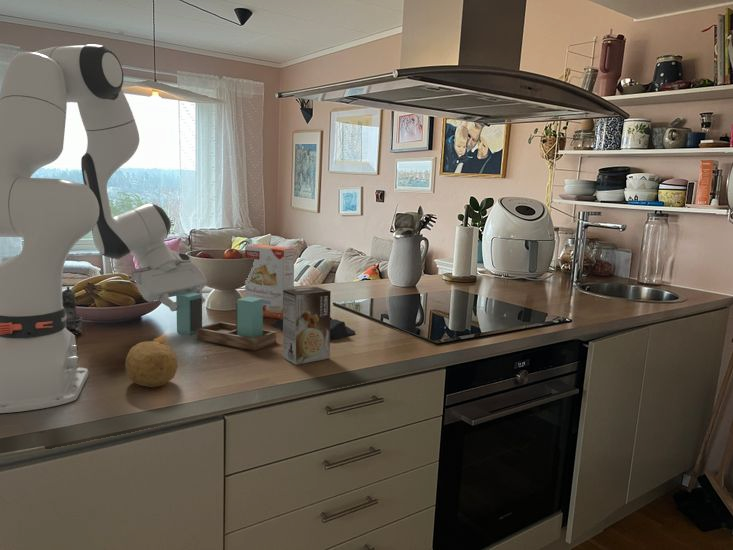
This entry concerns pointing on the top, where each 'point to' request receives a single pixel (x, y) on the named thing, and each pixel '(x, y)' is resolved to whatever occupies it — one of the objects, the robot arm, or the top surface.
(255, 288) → the cracker box
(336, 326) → the dark slate chunk
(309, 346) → the grey cardboard box
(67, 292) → the figurine
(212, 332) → the wooden compartment tray
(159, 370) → the potato
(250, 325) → the turquoise rectangular block
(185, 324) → the tall teal pillar
